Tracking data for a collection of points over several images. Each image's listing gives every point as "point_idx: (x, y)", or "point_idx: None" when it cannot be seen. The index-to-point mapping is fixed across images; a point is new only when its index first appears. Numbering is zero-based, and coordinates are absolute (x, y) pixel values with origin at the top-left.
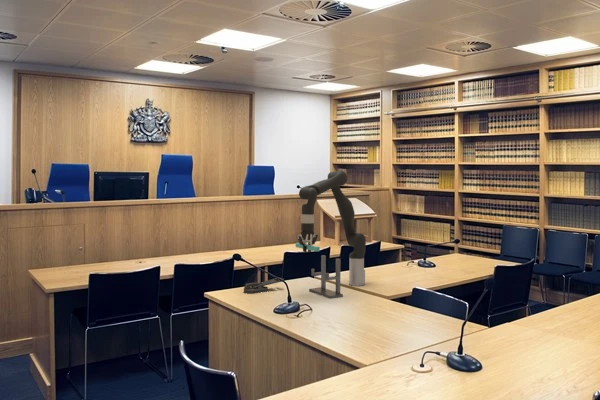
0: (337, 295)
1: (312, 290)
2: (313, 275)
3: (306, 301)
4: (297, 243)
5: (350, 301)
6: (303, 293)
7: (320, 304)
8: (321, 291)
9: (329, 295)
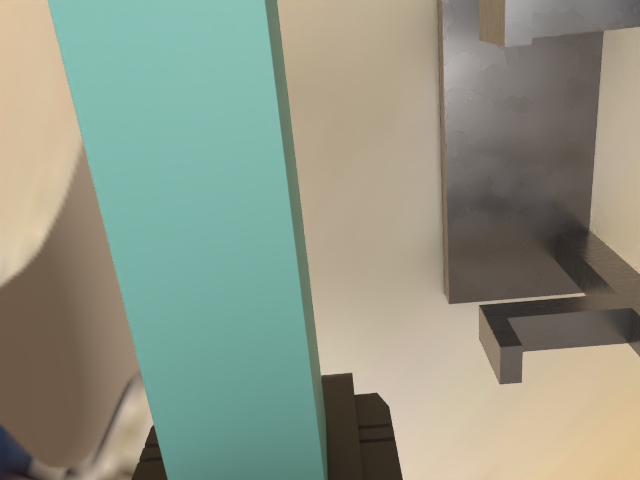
0: (524, 295)
1: (441, 14)
2: (484, 39)
3: None
4: (55, 10)
5: (525, 418)
6: (335, 11)
7: None
8: (483, 121)
9: (455, 286)
